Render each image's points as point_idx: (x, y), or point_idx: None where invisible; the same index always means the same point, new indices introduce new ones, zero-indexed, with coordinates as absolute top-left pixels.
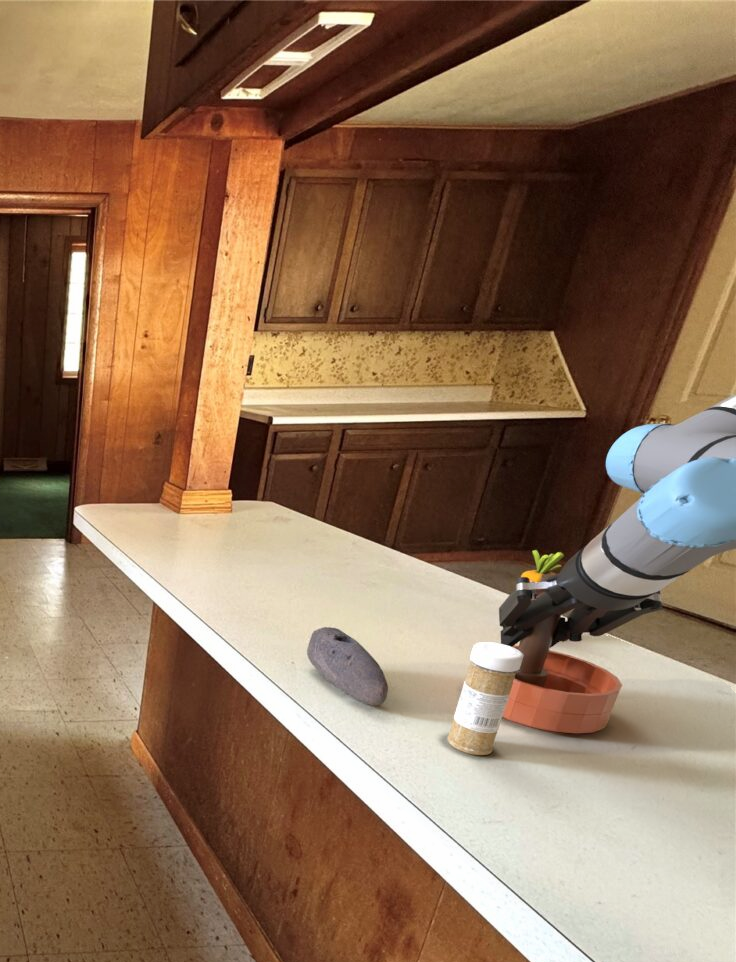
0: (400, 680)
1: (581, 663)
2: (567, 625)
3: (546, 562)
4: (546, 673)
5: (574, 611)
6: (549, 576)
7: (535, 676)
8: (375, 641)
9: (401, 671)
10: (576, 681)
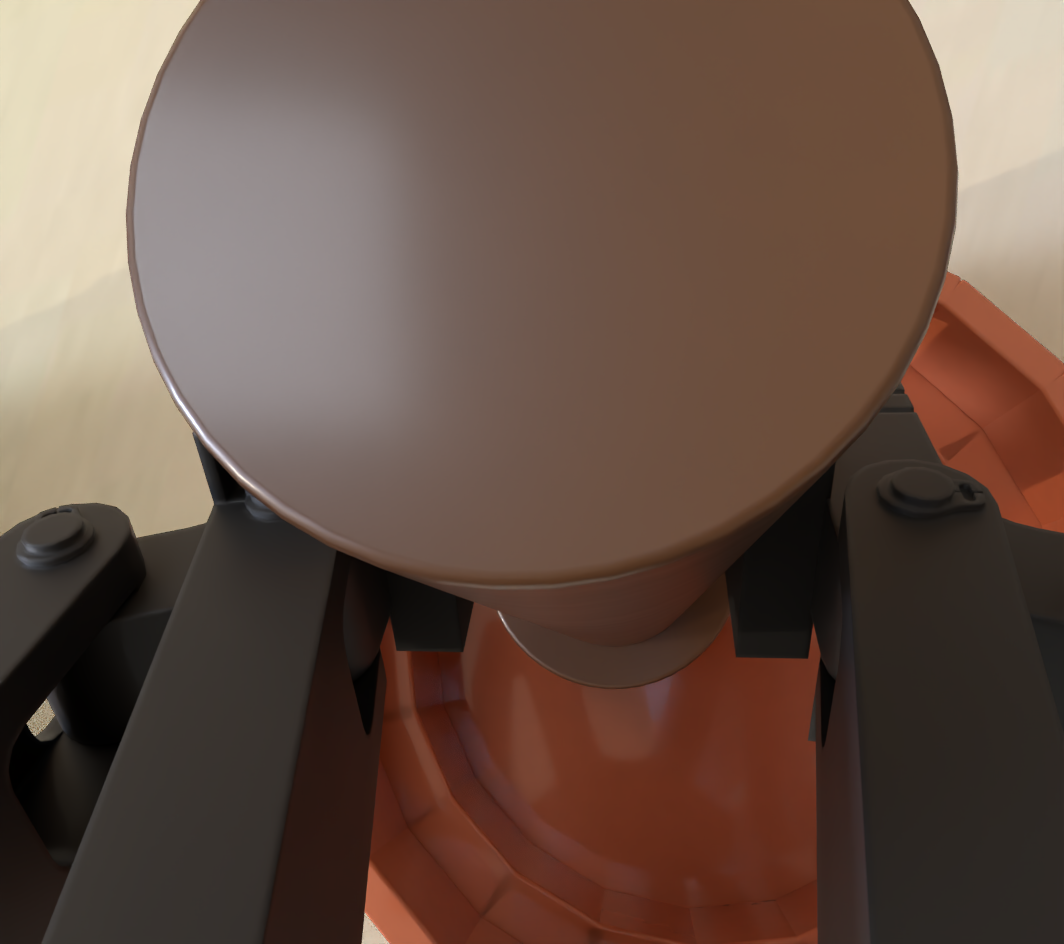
0: (89, 494)
1: (1013, 381)
2: (825, 591)
3: None
4: (719, 611)
5: (850, 771)
6: (334, 105)
7: (628, 687)
8: (111, 5)
9: (130, 369)
10: (954, 462)
